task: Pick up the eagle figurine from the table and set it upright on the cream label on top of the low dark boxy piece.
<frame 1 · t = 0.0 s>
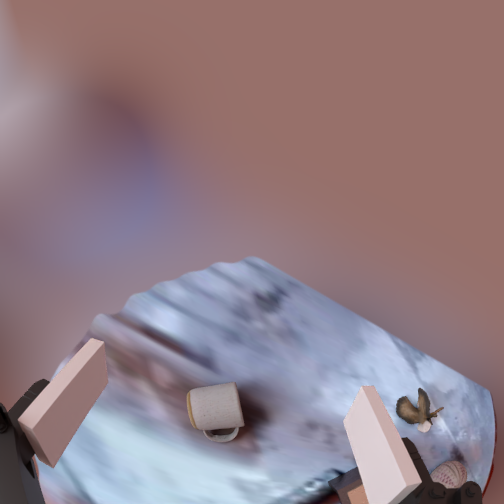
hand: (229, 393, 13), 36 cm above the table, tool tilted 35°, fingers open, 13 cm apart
eagle figurine: (411, 409, 45), on the table
ceramic mug: (219, 411, 43), on the table
dark boxy piece: (366, 485, 38), on the table
sea urchin shell: (437, 482, 37), on the table
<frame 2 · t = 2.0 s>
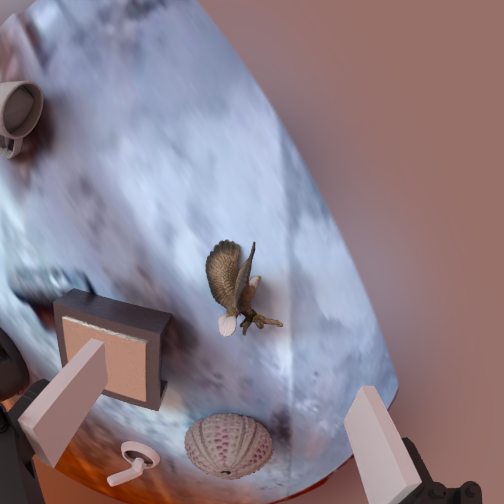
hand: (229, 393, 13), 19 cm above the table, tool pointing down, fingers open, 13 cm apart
eagle figurine: (240, 279, 32), on the table
ceramic mug: (24, 121, 27), on the table
dark boxy piece: (119, 341, 33), on the table
sea urchin shell: (229, 433, 38), on the table
vr controller: (140, 452, 40), on the table
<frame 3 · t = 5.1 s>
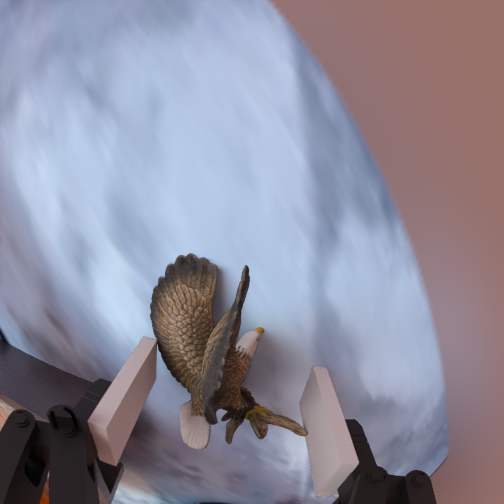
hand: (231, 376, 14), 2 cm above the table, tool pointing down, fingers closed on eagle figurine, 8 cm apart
eagle figurine: (223, 332, 15), on the table, touching gripper
dark boxy piece: (49, 408, 17), on the table
when the fingers open (8 cm above the table, at t = 11.2 s): eagle figurine drops 1 cm, resting on dark boxy piece.
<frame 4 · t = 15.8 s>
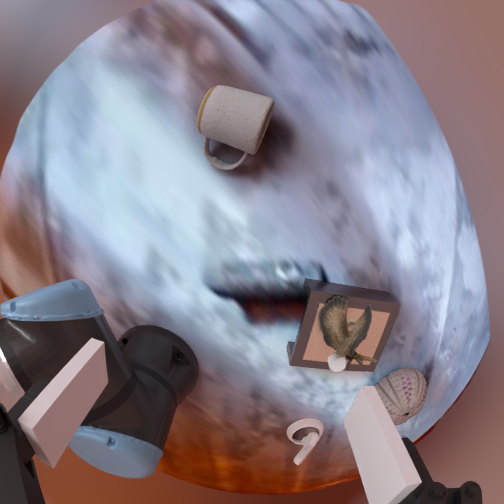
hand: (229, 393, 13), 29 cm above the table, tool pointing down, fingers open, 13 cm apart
eagle figurine: (343, 325, 37), point 5 cm above the table, touching dark boxy piece
ceramic mug: (236, 133, 37), on the table
dark boxy piece: (338, 320, 43), on the table
sea urchin shell: (391, 389, 47), on the table
vr controller: (304, 429, 49), on the table
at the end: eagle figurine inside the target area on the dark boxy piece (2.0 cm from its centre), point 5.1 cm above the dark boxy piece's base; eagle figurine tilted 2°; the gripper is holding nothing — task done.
